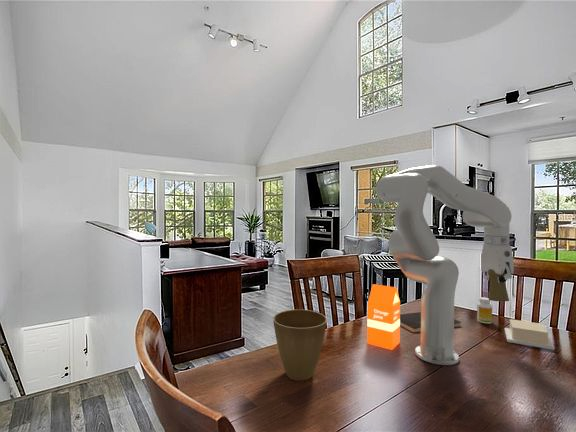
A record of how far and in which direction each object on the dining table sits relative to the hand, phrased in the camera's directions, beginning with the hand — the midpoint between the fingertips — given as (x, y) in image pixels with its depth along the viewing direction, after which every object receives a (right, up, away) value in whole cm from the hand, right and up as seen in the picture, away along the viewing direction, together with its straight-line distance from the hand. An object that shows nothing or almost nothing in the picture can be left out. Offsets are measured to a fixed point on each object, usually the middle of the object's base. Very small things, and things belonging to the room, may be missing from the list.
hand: (495, 292), depth 115 cm
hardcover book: (-17, -18, +20) cm, 32 cm away
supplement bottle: (+9, -17, +21) cm, 29 cm away
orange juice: (-40, -17, -2) cm, 44 cm away
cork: (0, -2, -1) cm, 3 cm away
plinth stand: (+13, -17, +3) cm, 22 cm away
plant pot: (-70, -17, -24) cm, 76 cm away
